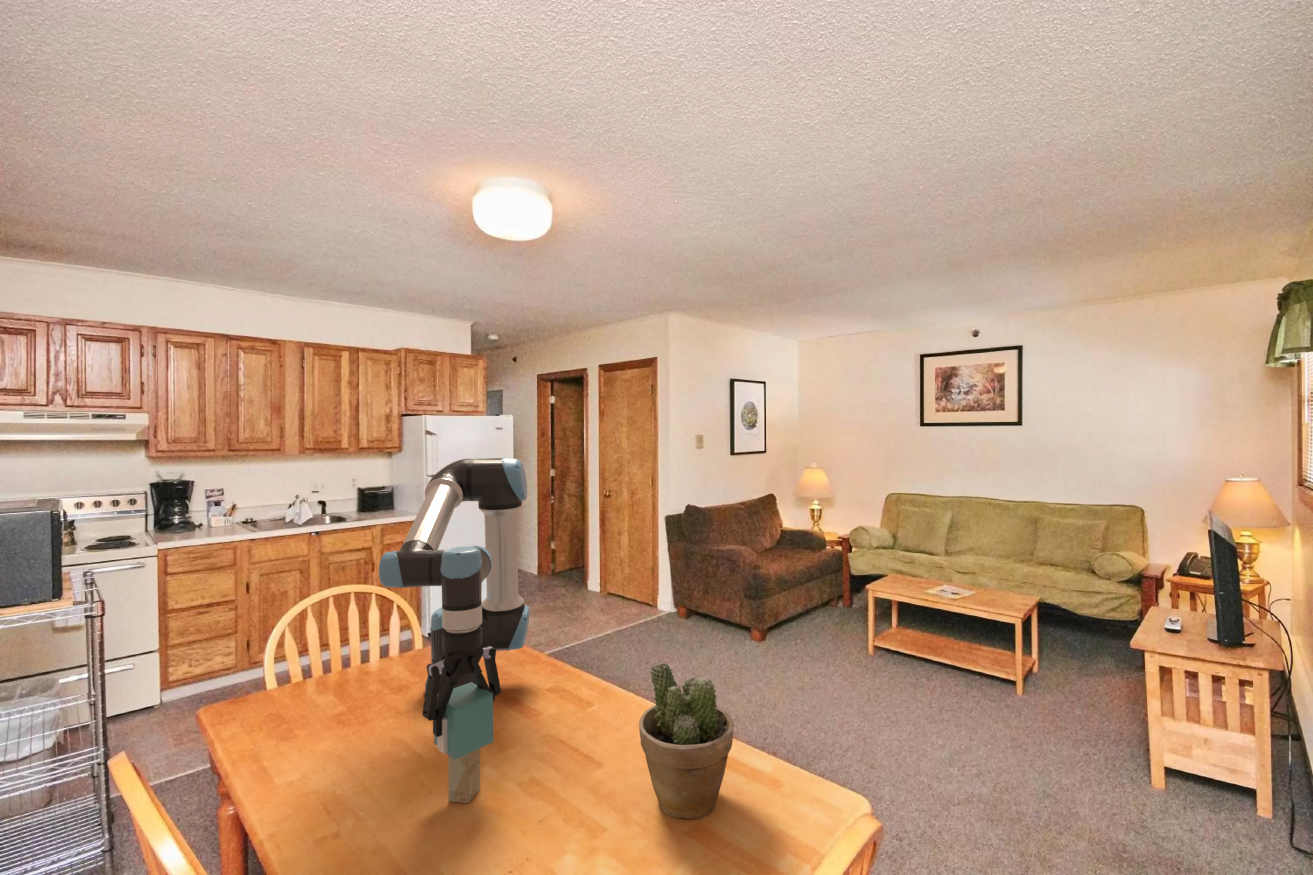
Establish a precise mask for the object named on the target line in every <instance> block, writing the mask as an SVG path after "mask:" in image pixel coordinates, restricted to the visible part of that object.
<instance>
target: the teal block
mask: <svg viewBox="0 0 1313 875" xmlns="http://www.w3.org/2000/svg"><path fill="white" fill-rule="evenodd" d="M437 697H438V696H437ZM444 717H445V718H447V744H448V753H446V754H447V756H448V755H450V756H451V757H452V758H454V759H457V758H459V757H461V756H464V755H466V754H468V753H470V752H473V751H475V750H477V749H479V748H480V749H481V748H483V747H486V746H488V745H491V744H492V743H494V740H495V738H494V702H493V694H492V693H490V692H489V691H487V690H482V689H481V688H479V687H477V685H476V684H474V683H472V682H471V683H468V684H465V685H462V686H459V687H456V688H454V689H453V691H452V694H451V697H450V700H449V703H447V708H446V711H445V714H444ZM433 736H434V737H433V738H434V739H433V740H434V741H433V743H434V745H435V747H437V737H436V736H435V735H434V734H433Z"/></svg>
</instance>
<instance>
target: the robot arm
mask: <svg viewBox="0 0 1313 875" xmlns="http://www.w3.org/2000/svg"><path fill="white" fill-rule="evenodd" d="M526 477H527V476H526V472H525V469H524V464H523V463H522V461H521V460H520V459H518V458H510V457H492V458H490V457H489V458H463V459H459V460H455V461H453V462H451V463H449V464H447V465H445V466H444V467H442V468H441V469H440V470H438V471H437V472H436V473H435V474H434V475H433V476H432V477H431V479H430V480H429V481H428V483H427V485H426V486H425V490H424V497H425V498H424V500H423V502H422V504H421V506H420V508H419V509H418V510H419V511H418V513H417V514H416V517H415V518H414V521H413V522H412V525H411V527H410V529H409V531H408V533H407V535H406V536H405V539H404V541H403V543H402V544H401V547H400V548H399V550H392V551H386V552H385V553H383V554H382V556H381V558H380V561H379V564H378V565H379V566H378V578H379V582H380V584H381V585H382V586H383V587H385V588H401V589H405V588H420V587H421V588H422V587H441V607H440V608H438V609H436V610H435V611H433V613H432V614H431V618H430V628H429V631H430V656H431V660H430V661H431V663H428V664H427V665H426V671H427V677H426V681H425V685H424V695H425V696H424V701H423V706H422V714H421V716H422V717H424V718H425V719H427V720H428V721H430V722H431V721H432V734H433V736H434V735H435V736H436V737H437V746H436V747H437V748H436V749H437V750H438V751H439V752H440V753H441V754H444V755H445V754H447V753H448V744H447V718H445V717H444V714H445V711H446V708H447V703H449V700H450V697H451V694H452V691H453V689H454V688H456V687H459V686H462V685H465V684H468V683H471V682H472V683H474V684H476V685H477V687H479V688H481V689H482V690H487V691H489V692H490V693H492V694H493V703H495V701H496V696H498V695H500V694H501V693H502V689H501V684H500V679H499V677H500V676H499V672H498V667H497V661H496V657H497V651H498V652H500V651H501V652H502V651H507V652H510V651H513V650H514V651H515V650H521V649H522V648H523V647H524V646H525V644H526V640H527V635H528V630H529V624H530V616H531V614H530V613H531V611H530V609H531V608H530V607H531V606H528V605H525V600H524V598H523V596H521V595H520V594H519V572H518V571H519V569H518V568H519V567H518V566H519V563H518V561H519V560H518V533H517V532H518V531H517V530H518V526H517V525H518V524H517V512H518V511H519V510H520V509H521V508H522V506H523V504H522V503H523V502H524V501H525V500H527V499H528V485H527V478H526ZM522 501H523V502H522ZM463 502H477V504H478V506H477V507H478V509H479V511H481V513H483V514H484V515H483V516H484V539H485V540H484V541H485V542H484V545H485V546H481V545H471V546H458V547H457V546H456V547H451V548H447V549H439V547H440V545H441V543H442V541H443V538H444V535H445V533H446V531H447V528H448V525H449V523H450V520H451V518H452V516H453V512H454V510H455V509H457V508H458V507H459V506H460V505H461V504H462V503H463ZM485 579H486V580H485ZM484 581H486V598H485V599H484V600H482V589H483V588H482V587H483V582H484ZM482 658H483V661H484V666H485V673H486V678H487V680H486V678H485V676H484V674H483V671H482V668H481V666H480V661H481V659H482ZM437 696H438V697H437Z"/></svg>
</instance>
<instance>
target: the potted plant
mask: <svg viewBox="0 0 1313 875" xmlns="http://www.w3.org/2000/svg"><path fill="white" fill-rule="evenodd" d="M672 670H673V669H672V668H671V667H670V665H669V664H668V663H666V662H664V661H663V662H657V663H655V664H654V665H652V666H651V667H650V672H649V676H650V677H651V683H652V684H653V687H654V688H652V689H653V691H654V700H655V704H654V705H652V706H651V707H649V708H648V709H646V710H645V711H644V712H643V714H642V715H641V717H640V720H639V721H638V729H639V737H640V746H641V748H642V751H643V754H644V755H645V760H646V761H645V762H646V765H647V769H648V771H649V772H648V773H649V777H650V781H651V784H652V788H653V791H654V793H655V797H656V799H657V801H658V805H659V807H660V808H661V809H662V811H663V812H664V813H665V814H666V815H668V816H671V817H674V818H678V819H682V820H683V819H684V820H689V819H690V820H696V819H700V818H703V817H705V816H708V815H709V814H711V813H712V812H713V811H714V809H715V807H716V804H717V800H718V796H719V793H720V790H721V787H722V783H723V780H724V779H723V778H724V776H725V774H726V773H725V771H726V767H727V763H728V757H729V753H730V751H731V750H732V747H733V739H734V728H735V722H734V720H733V718H732V717H731V715H730V713H728V711H726V710H725V709H724V708H722V707H720V706H718V705H717V700H716V699H717V698H718V695H716V692H717V690H716V689H715V687H716V686H715V685H714V683H713V680H710V677H708V678H705V677H704V676H701V677H698V678H697V677H695V676H689V677H687V678H685V679H684V682H683V684H682V686H681V688H682V689H681V688H680V686H678V683H677V682H676V680H675V677H674V675H673V671H672Z"/></svg>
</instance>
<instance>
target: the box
mask: <svg viewBox="0 0 1313 875" xmlns="http://www.w3.org/2000/svg"><path fill="white" fill-rule="evenodd" d="M447 756H448V759H447V760H448V761H447V762H448V763H447V765H448V768H447V770H448V775H447V776H448V777H447V778H448V782H447V783H448V784H447V786H448V802H454V803H461V804H469V803H470V801H471V800H472V799H474V797H475V796H476V795H477V793H478V792H479V791H480V790H481V748H479V749H477V750H475V751H473V752H470V753H468V754H466V755H464V756H461V757H459V758H457V759H454V758H452V757H451V756H450V755H448V754H447Z"/></svg>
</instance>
